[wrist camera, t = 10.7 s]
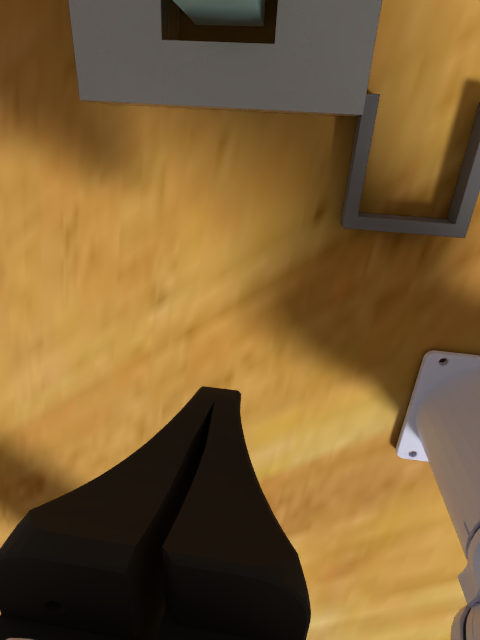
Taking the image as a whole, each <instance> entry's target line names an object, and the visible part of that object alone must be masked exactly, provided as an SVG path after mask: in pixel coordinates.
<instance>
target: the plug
mask: <svg viewBox="0 0 480 640" xmlns="http://www.w3.org/2000/svg"><path fill="white" fill-rule="evenodd" d="M173 1H174V2H175V3H176V4H177V5H178V6H179V7H180V8H181V9H182V10H183V11H184V12H185V14H186V15H187V16H188V17H189V18H190V19H191V20H192V21H193V22H194V23H195V24H196V25H223V26H264V16H265V0H173Z"/></svg>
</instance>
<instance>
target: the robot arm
mask: <svg viewBox="0 0 480 640" xmlns="http://www.w3.org/2000/svg"><path fill="white" fill-rule="evenodd" d="M442 358H446V360H445V361H444V362H439V360H440V359H442ZM240 403H241V393H240V392H239V391H236V390H228V389H220V388H212V387H204V386H203V387H201V388H200V389H199V390H198V391H197V392H196V394H195V395H194V396H193V397H192V398H191V400H190V401H189V402H188V403H187V404H186V405H185V406H184V407H183V408H182V410H181V411H180V412H179V413H178V414H177V415H176V416H175V417H174V418H173V419H172V420H171V421H170V422H169V423H168V424H167V425H166V426H165V427H164V428H163V429H161V430H160V431H159V432H158V433H157V434H156V435H155V436H154V437H153V438H152V439H150V440H149V441H148V442H147V443H146V444H144V445H143V446H142V447H141V448H140V449H138V450H137V451H136V452H134V453H133V454H132V455H130V456H129V457H128V458H126V459H125V460H123V461H122V462H120V463H119V464H118V465H116V466H115V467H113V468H112V469H110V470H109V471H107V472H105V473H104V474H102V475H101V476H99V477H97V478H95V479H94V480H92V481H90V482H88V483H87V484H85V485H83V486H81V487H79V488H77V489H75V490H73V491H71V492H69V493H67V494H65V495H63V496H61V497H59V498H57V499H54V500H52V501H50V502H48V503H45V504H43V505H41V506H39V507H36V508H34V509H32V510H30V511H29V512H28V513H27V515H26V516H25V517H24V518H23V519H22V520H21V522H20V523H19V524H18V525H17V526H16V528H15V529H14V530H13V532H12V533H11V534H10V536H9V537H8V539H7V540H6V541H5V543H4V544H3V546H2V547H1V549H0V611H1V615H0V640H306V637H307V633H308V628H309V624H310V618H311V609H310V601H309V595H308V590H307V585H306V581H305V578H304V574H303V570H302V567H301V564H300V560H299V557H298V554H297V552H296V550H295V549H294V547H293V546H292V544H291V543H290V541H289V540H288V538H287V536H286V535H285V533H284V532H283V530H282V528H281V526H280V525H279V523H278V521H277V519H276V518H275V516H274V514H273V512H272V510H271V508H270V506H269V504H268V502H267V500H266V498H265V496H264V494H263V492H262V489H261V487H260V485H259V482H258V480H257V477H256V475H255V472H254V469H253V466H252V463H251V460H250V457H249V454H248V450H247V447H246V443H245V439H244V434H243V429H242V424H241V417H240ZM411 451H415V452H413V453H410V452H411ZM396 453H397V455H398V456H399V457H401V458H405V459H413V460H420V461H427V462H429V464H430V466H431V469H432V471H433V474H434V477H435V479H436V482H437V484H438V487H439V489H440V492H441V495H442V497H443V500H444V502H445V505H446V507H447V510H448V513H449V515H450V518H451V520H452V523H453V525H454V528H455V531H456V533H457V536H458V538H459V541H460V543H461V546H462V549H463V551H464V554H465V556H466V559H467V561H468V562H467V566H466V568H465V569H464V571H463V572H462V573H460V574H459V575H458V579H459V582H460V585H461V588H462V590H463V593H464V596H465V599H466V602H467V606H465V607H464V608H462V609H460V611H459V612H458V613H457V614H456V616H455V617H454V620H453V623H452V627H451V640H480V355H472V354H463V353H454V352H445V351H436V350H433V351H429V352H427V353H426V354H425V355H424V357H423V360H422V363H421V367H420V370H419V373H418V377H417V380H416V383H415V386H414V390H413V393H412V396H411V400H410V403H409V406H408V409H407V413H406V416H405V419H404V423H403V426H402V429H401V432H400V436H399V439H398V442H397V446H396Z"/></svg>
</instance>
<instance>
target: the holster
mask: <svg viewBox="0 0 480 640" xmlns="http://www.w3.org/2000/svg"><path fill="white" fill-rule="evenodd" d="M379 97H380V94H366V98H365V104H364V110H363V115H360V116H358V120H357V126H356V132H355V138H354V144H353V150H352V156H351V162H350V169H349V175H348V181H347V187H346V193H345V199H344V205H343V211H342V217H341V225H342V227H343V228H348V229H360V230H372V231H385V232H397V233H409V234H421V235H434V236H446V237H458V238H465V236H466V233H467V230H468V227H469V224H470V220H471V217H472V214H473V211H474V207H475V204H476V201H477V198H478V195H479V191H480V104H479V108H478V111H477V115H476V118H475V122H474V125H473V129H472V132H471V136H470V140H469V143H468V147H467V150H466V154H465V157H464V161H463V164H462V168H461V171H460V175H459V178H458V182H457V185H456V189H455V192H454V196H453V200H452V203H451V207H450V210H449V214H448V217H447V219H439V218H426V217H413V216H400V215H387V214H374V213H361V212H359V206H360V201H361V195H362V190H363V184H364V179H365V173H366V168H367V163H368V157H369V152H370V146H371V141H372V135H373V130H374V124H375V119H376V113H377V108H378V102H379Z"/></svg>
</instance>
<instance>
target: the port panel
mask: <svg viewBox="0 0 480 640" xmlns="http://www.w3.org/2000/svg"><path fill="white" fill-rule="evenodd" d="M68 1H69V10H70V19H71V28H72V36H73V45H74V54H75V63H76V72H77V80H78V89H79V98H80V100H83V101H91V102H98V103H105V104H121V105H140V106H159V107H178V108H196V109H215V110H234V111H253V112H271V113H290V114H309V115H328V116H346V117H356V116H360V115H363V110H364V104H365V98H366V93H367V87H368V81H369V75H370V69H371V63H372V57H373V51H374V45H375V39H376V33H377V28H378V22H379V16H380V10H381V4H382V0H278V7H277V20H276V33H275V44H261V43H233V42H205V41H180V36H179V6H178V5H177V4H176V3H175V2H174V1H173V0H68Z"/></svg>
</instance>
